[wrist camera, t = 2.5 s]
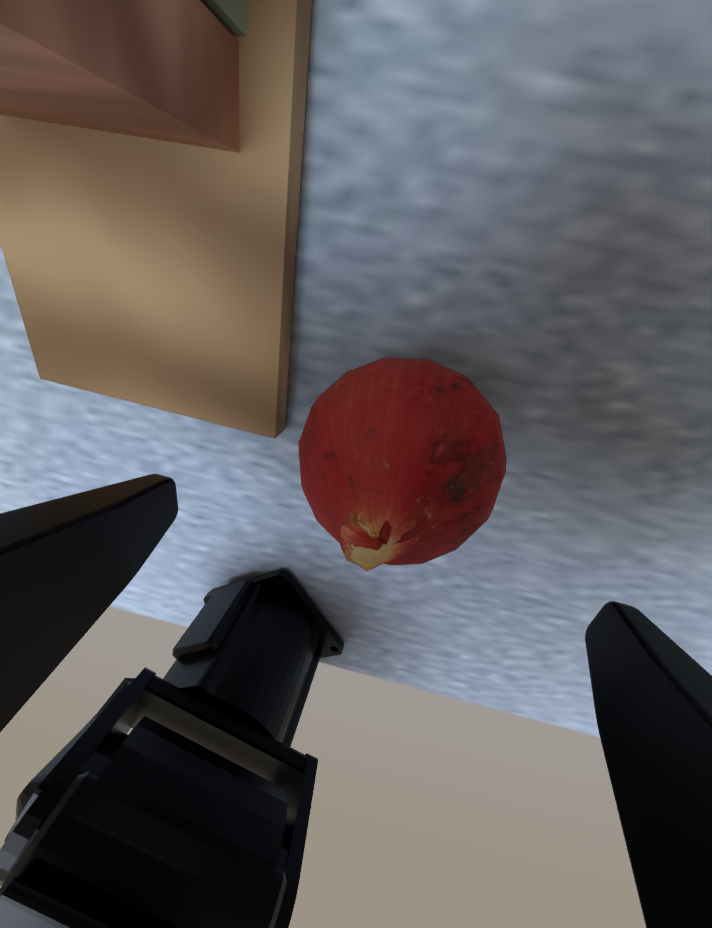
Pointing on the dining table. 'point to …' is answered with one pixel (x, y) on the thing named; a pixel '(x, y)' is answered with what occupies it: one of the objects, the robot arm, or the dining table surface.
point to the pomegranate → (401, 461)
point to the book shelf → (156, 197)
